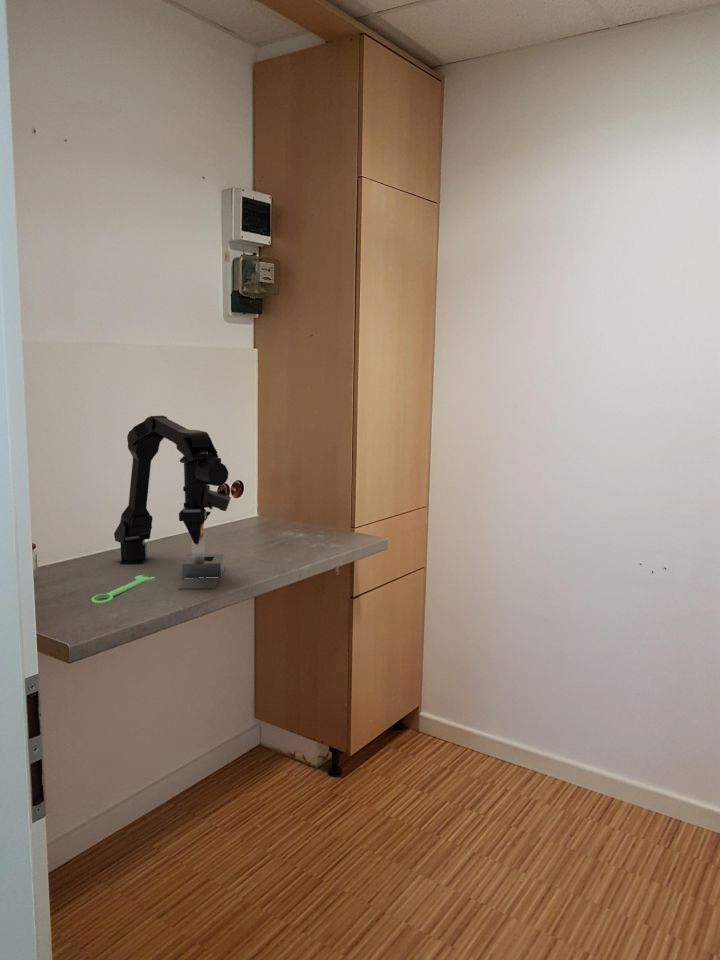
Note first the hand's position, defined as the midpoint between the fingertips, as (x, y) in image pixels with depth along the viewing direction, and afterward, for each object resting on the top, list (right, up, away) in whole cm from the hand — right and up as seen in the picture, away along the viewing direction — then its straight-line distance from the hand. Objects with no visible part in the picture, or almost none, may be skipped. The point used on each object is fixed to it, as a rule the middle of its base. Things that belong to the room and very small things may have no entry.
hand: (197, 542), depth 203 cm
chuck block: (-1, -9, +12) cm, 16 cm away
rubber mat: (0, -11, +2) cm, 11 cm away
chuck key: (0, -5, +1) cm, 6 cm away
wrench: (-18, -12, -3) cm, 22 cm away
